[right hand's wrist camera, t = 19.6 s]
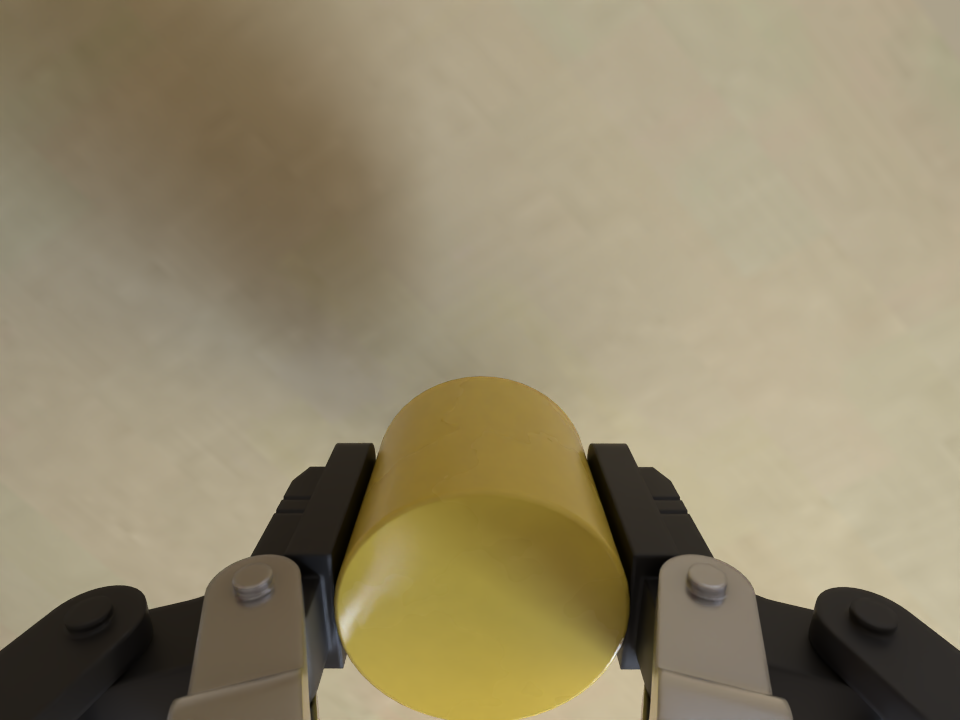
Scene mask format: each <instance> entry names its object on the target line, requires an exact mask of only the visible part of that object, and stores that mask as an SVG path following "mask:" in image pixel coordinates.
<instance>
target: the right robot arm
mask: <svg viewBox="0 0 960 720" xmlns="http://www.w3.org/2000/svg"><path fill="white" fill-rule="evenodd" d="M375 462H376V456H375V448H374V445H373V443H337V444H336V445H335V447H334V450H333V452H332V454H331V456H330V458H329V460H328V462H327V464H326V466H325V467H309V468H308V469H307V470H305V471H304V472H303V473H302V474H300V475H299V476H298V477H296V478H295V479H294V480H293V481H292V482H291V484H290V486H289V488H288V490H287V491H286V493H285V495H284V499H283V500H282V501H281V502H280V504H279V506H278V508H277V510H276V513H274V515H273V517H272V519H271V520H270V522H269V524H268V526H267V528H266V529H265V531H264V533H263V535H262V537H261V539H260V540H259V542H258V544H257V546H256V548H255V549H254V551H253V553H252V555H251V557H248V558H245V559H242V560H240V561H237V562H235V563H233V564H231V565H230V566H228V567H226V568H225V569H223V570H222V571H221V572H219V573H218V574H217V575H216V576H215V577H214V578H213V579H212V581H211V582H210V583H209V585H208V587H207V589H206V592H205V596H202V597H199V598H196V599H192V600H189V601H184V602H180V603H176V604H171V605H167V606H163V607H158V608H154V609H150V610H148V606H147V602H146V598H145V596H144V594H143V593H142V592H141V591H139V590H138V589H136V588H133V587H130V586H121V585H115V586H107V587H102V588H97V589H94V590H91V591H88V592H85V593H83V594H80V595H78V596H76V597H74V598H72V599H70V600H68V601H66V602H65V603H63V604H61V605H60V606H58V607H57V608H55V609H54V610H53V611H51V612H50V613H49V614H48V615H46V616H45V617H44V618H42V619H41V620H40V621H38V622H37V623H36V624H35V625H33V626H32V627H31V628H29V629H28V630H27V631H25V632H24V633H23V634H22V635H20V636H19V637H18V638H16V639H15V640H14V641H13V642H11V643H10V644H9V645H7V646H6V647H5V648H3V649H2V650H1V651H0V720H319V709H318V699H317V689H318V686H319V683H320V679H321V676H322V673H323V669H324V668H343V667H344V663H345V659H346V655H347V653H346V651H345V649H344V647H343V645H342V642H341V640H340V637H339V635H338V631H337V626H336V621H335V617H334V593H335V585H336V582H337V578H338V575H339V572H340V568H341V565H342V562H343V559H344V556H345V553H346V550H347V547H348V544H349V541H350V538H351V535H352V532H353V529H354V526H355V523H356V520H357V517H358V514H359V511H360V508H361V504H362V501H363V498H364V495H365V492H366V489H367V486H368V483H369V480H370V477H371V474H372V471H373V468H374V465H375ZM587 462H588V465H589V468H590V471H591V473H592V476H593V479H594V482H595V485H596V488H597V491H598V494H599V497H600V500H601V503H602V506H603V509H604V512H605V515H606V518H607V521H608V524H609V527H610V530H611V533H612V536H613V539H614V542H615V545H616V548H617V551H618V554H619V557H620V560H621V563H622V566H623V569H624V572H625V575H626V578H627V581H628V586H629V593H630V616H629V621H628V627H627V631H626V634H625V637H624V640H623V643H622V645H621V647H620V649H619V651H618V653H617V657H618V661H619V665H620V668H621V669H640V670H641V673H642V676H643V680H644V683H645V684H644V691H643V699H642V709H641V720H960V651H959V650H958V649H957V648H955V647H954V646H953V645H951V644H950V643H949V642H947V641H946V640H945V639H944V638H942V637H941V636H940V635H938V634H937V633H936V632H935V631H933V630H932V629H931V628H929V627H928V626H927V625H925V624H924V623H923V622H922V621H920V620H919V619H918V618H916V617H915V616H914V615H913V614H911V613H910V612H909V611H907V610H906V609H904V608H903V607H901V606H900V605H898V604H896V603H895V602H893V601H891V600H889V599H887V598H885V597H883V596H880V595H878V594H875V593H872V592H869V591H866V590H862V589H857V588H849V587H837V588H831V589H828V590H825V591H824V592H822V593H821V594H820V595H819V596H818V598H817V601H816V604H815V608H814V610H811V609H807V608H802V607H798V606H794V605H789V604H785V603H781V602H776V601H773V600H769V599H766V598H763V597H760V596H758V595H755V592H754V589H753V587H752V585H751V583H750V582H749V581H748V579H747V578H746V577H745V576H744V575H743V574H742V573H741V572H739V571H738V570H737V569H735V568H734V567H732V566H730V565H729V564H727V563H725V562H723V561H720V560H718V559H715V558H714V557H713V555H712V554H711V552H710V550H709V548H708V546H707V545H706V543H705V541H704V539H703V538H702V536H701V534H700V532H699V530H698V529H697V527H696V525H695V523H694V522H693V520H692V518H691V516H690V514H688V513H687V509H686V507H685V505H684V504H683V502H682V500H680V497H679V495H678V493H677V491H676V489H675V488H674V486H673V484H672V482H671V481H670V480H669V479H667V478H666V477H665V476H664V475H662V474H661V473H660V472H658V471H657V470H656V469H655V468H653V467H638V466H637V464H636V462H635V460H634V458H633V456H632V454H631V452H630V450H629V448H628V446H627V444H590V445H589V449H588V456H587Z"/></svg>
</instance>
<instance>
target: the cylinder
mask: <svg viewBox="0 0 960 720" xmlns="http://www.w3.org/2000/svg"><path fill="white" fill-rule="evenodd" d="M629 616H630V593H629V586H628V581H627V578H626V575H625V572H624V569H623V566H622V563H621V560H620V557H619V554H618V551H617V548H616V545H615V542H614V539H613V536H612V533H611V530H610V527H609V524H608V521H607V518H606V515H605V512H604V509H603V506H602V503H601V500H600V497H599V494H598V491H597V488H596V485H595V482H594V479H593V476H592V473H591V471H590V468H589V465H588V462H587V459H586V456H585V453H584V450H583V447H582V444H581V441H580V438H579V435H578V433H577V431H576V429H575V427H574V425H573V424H572V422H571V421H570V419H569V418H568V417H567V415H566V414H565V413H564V412H563V411H562V410H561V409H560V407H559V406H558V405H557V404H555V403H554V402H553V401H552V400H550V399H549V398H548V397H547V396H545V395H543V394H542V393H540V392H539V391H537V390H535V389H533V388H531V387H529V386H526V385H524V384H522V383H518V382H515V381H512V380H508V379H503V378H497V377H482V376H479V377H466V378H460V379H455V380H451V381H448V382H445V383H442V384H439V385H437V386H434V387H432V388H430V389H428V390H426V391H424V392H423V393H421V394H420V395H418V396H417V397H415V398H414V399H413V400H411V401H410V402H409V403H408V404H407V405H406V406H404V407H403V409H402V410H401V411H400V412H399V413H398V414H397V415H396V416H395V418H394V419H393V421H392V422H391V424H390V425H389V427H388V429H387V431H386V433H385V436H384V438H383V441H382V444H381V447H380V450H379V453H378V456H377V459H376V462H375V465H374V468H373V471H372V474H371V477H370V480H369V483H368V486H367V489H366V492H365V495H364V498H363V501H362V504H361V508H360V511H359V514H358V517H357V520H356V523H355V526H354V529H353V532H352V535H351V538H350V541H349V544H348V547H347V550H346V553H345V556H344V559H343V562H342V565H341V568H340V572H339V575H338V578H337V582H336V585H335V593H334V617H335V621H336V626H337V631H338V635H339V637H340V640H341V642H342V645H343V647H344V649H345V651H346V653H347V655H348V656H349V658H350V660H351V662H352V663H353V664H354V665H355V667H356V668H357V669H358V671H359V672H360V673H361V674H362V675H363V676H364V677H365V678H366V679H367V680H368V681H369V682H370V683H371V684H372V685H373V686H374V687H376V688H377V689H378V690H380V691H381V692H382V693H383V694H385V695H386V696H388V697H390V698H391V699H393V700H395V701H396V702H398V703H400V704H402V705H404V706H406V707H408V708H410V709H413V710H415V711H418V712H421V713H424V714H426V715H429V716H433V717H437V718H441V719H446V720H519V719H523V718H527V717H531V716H535V715H538V714H540V713H543V712H546V711H549V710H552V709H554V708H556V707H558V706H560V705H562V704H564V703H566V702H568V701H569V700H571V699H573V698H574V697H576V696H577V695H579V694H581V693H582V692H583V691H584V690H586V689H587V688H588V687H589V686H591V685H592V684H593V683H594V682H595V681H596V680H597V679H598V678H599V677H600V676H601V675H602V674H603V673H604V672H605V671H606V669H607V668H608V667H609V665H610V664H611V663H612V661H613V660H614V658H615V657H616V655H617V653H618V651H619V649H620V647H621V645H622V643H623V640H624V637H625V634H626V631H627V627H628V621H629Z"/></svg>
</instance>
